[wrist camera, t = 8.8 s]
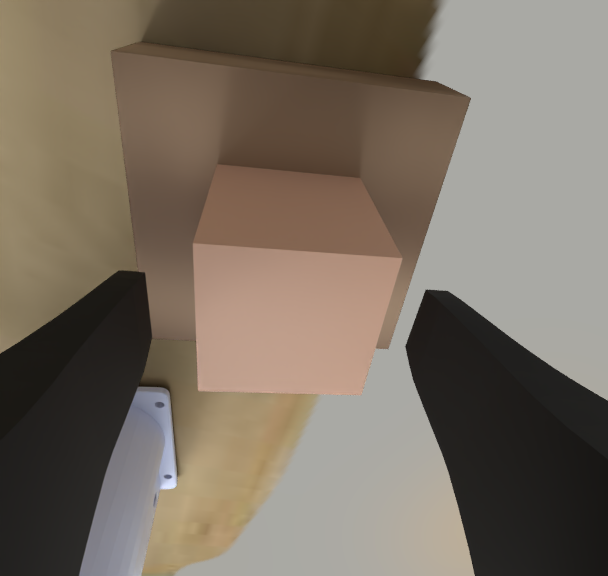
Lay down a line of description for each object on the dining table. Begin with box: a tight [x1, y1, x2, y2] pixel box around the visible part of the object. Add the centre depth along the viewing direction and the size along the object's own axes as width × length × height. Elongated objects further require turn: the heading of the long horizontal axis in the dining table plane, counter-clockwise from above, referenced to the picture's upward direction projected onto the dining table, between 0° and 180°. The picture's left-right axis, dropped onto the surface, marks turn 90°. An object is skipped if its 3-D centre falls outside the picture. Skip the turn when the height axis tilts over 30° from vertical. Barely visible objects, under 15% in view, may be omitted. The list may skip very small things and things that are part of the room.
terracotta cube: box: [193, 164, 403, 395], centre depth 12 cm, size 4×4×5 cm
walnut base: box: [111, 42, 471, 349], centre depth 15 cm, size 10×10×3 cm
